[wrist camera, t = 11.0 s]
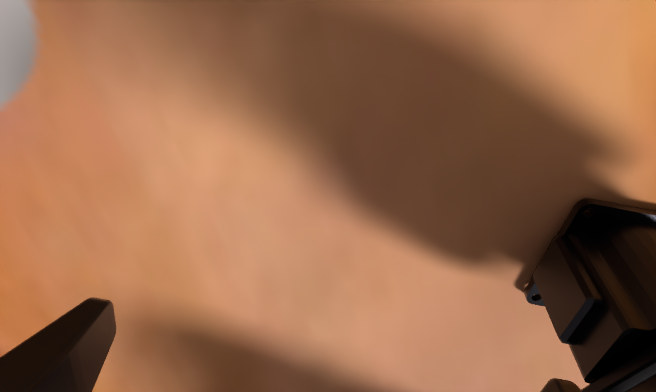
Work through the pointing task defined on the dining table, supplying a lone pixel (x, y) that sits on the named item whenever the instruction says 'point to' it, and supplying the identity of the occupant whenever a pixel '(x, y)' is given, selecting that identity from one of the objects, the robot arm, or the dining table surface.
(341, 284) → the dining table surface
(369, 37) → the dining table surface
